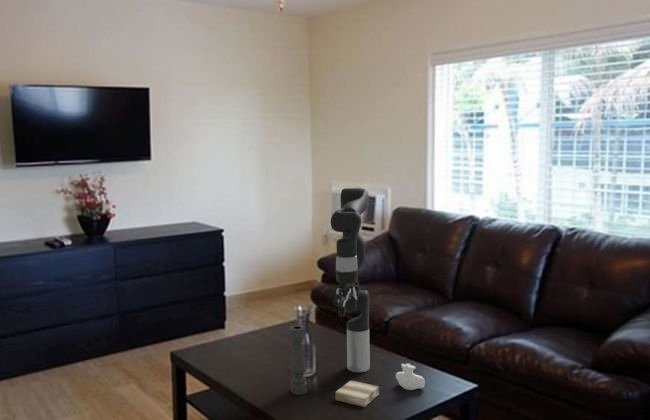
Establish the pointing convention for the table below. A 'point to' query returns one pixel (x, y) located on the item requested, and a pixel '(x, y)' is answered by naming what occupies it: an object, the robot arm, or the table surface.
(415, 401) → the table surface
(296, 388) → the candle holder
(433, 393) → the table surface
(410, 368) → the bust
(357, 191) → the robot arm
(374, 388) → the birch plate
